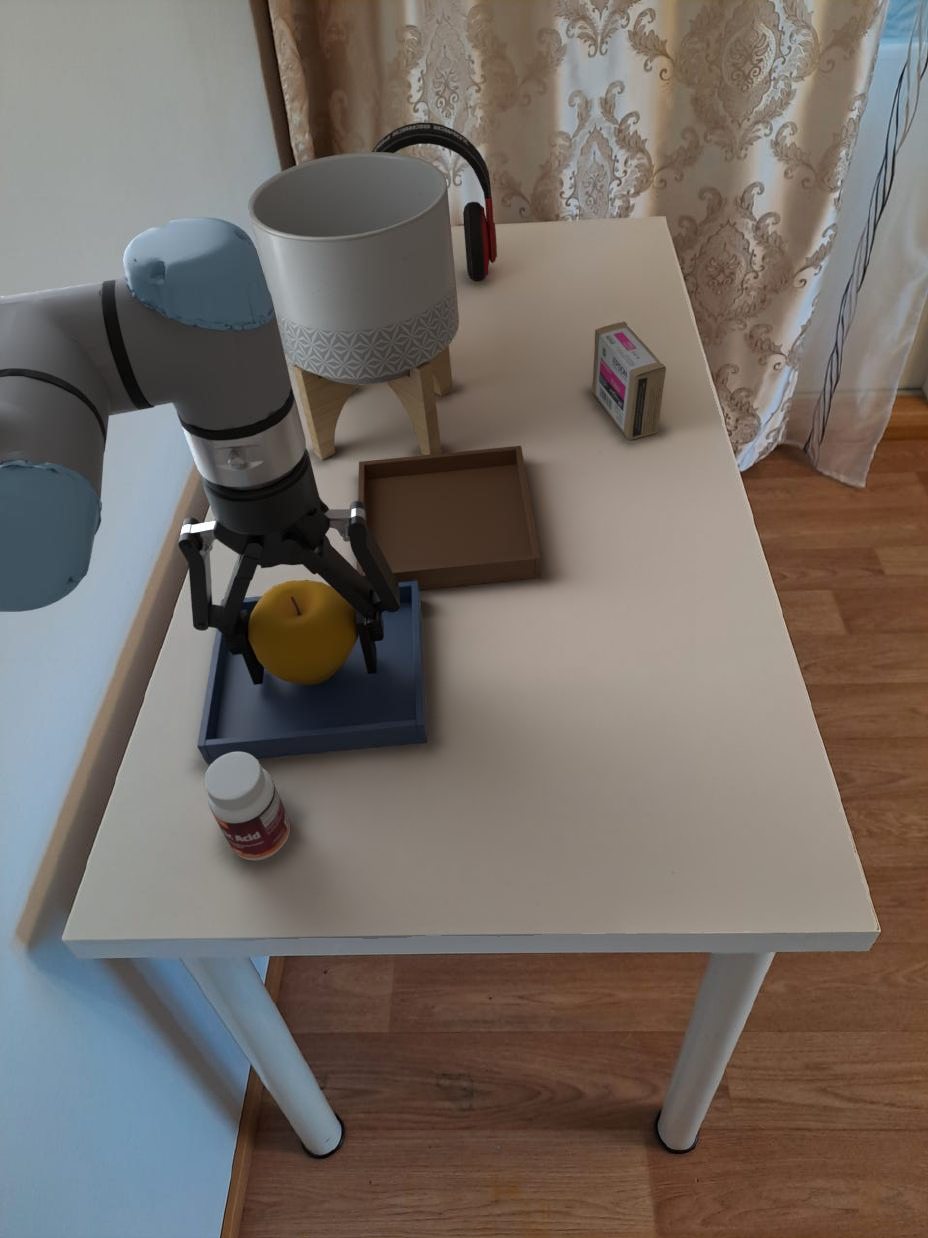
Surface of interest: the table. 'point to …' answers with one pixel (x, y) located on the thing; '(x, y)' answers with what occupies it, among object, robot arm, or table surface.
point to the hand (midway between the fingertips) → (315, 666)
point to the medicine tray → (452, 517)
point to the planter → (361, 283)
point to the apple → (302, 631)
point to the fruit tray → (321, 697)
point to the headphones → (475, 222)
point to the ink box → (628, 380)
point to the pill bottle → (246, 806)
